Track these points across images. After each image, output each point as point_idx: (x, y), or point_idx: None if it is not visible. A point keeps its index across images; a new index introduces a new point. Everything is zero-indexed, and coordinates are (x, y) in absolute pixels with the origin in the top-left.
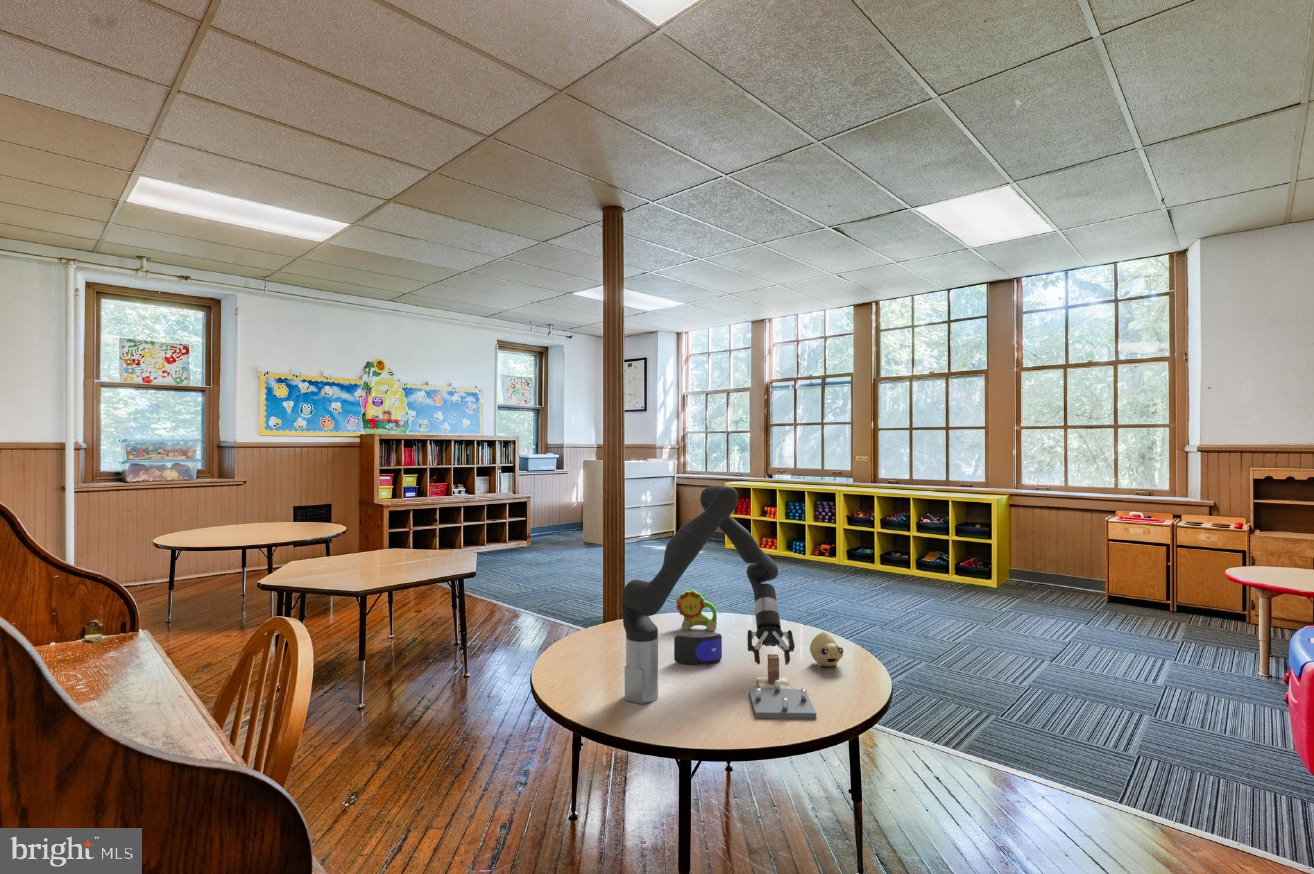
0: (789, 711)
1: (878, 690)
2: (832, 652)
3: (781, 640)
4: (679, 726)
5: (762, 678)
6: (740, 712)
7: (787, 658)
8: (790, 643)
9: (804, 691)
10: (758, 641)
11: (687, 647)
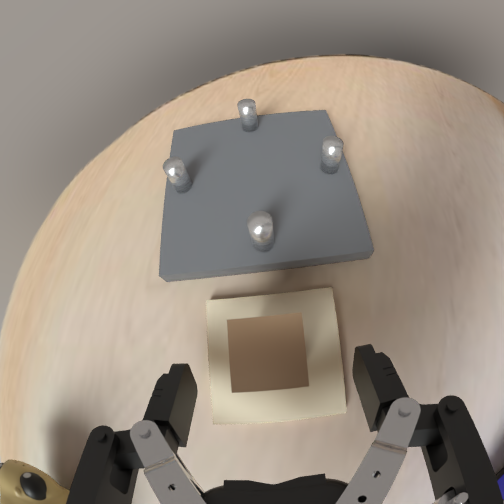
0: (239, 122)
1: (6, 322)
2: (15, 464)
3: (164, 482)
4: (445, 101)
5: (321, 400)
6: (366, 140)
7: (171, 376)
8: (106, 456)
9: (173, 158)
10: (402, 452)
11: None
